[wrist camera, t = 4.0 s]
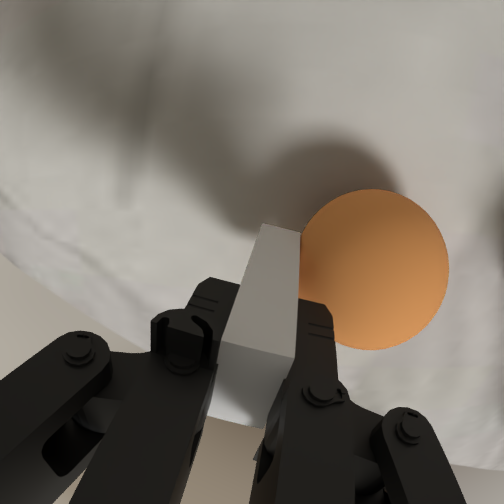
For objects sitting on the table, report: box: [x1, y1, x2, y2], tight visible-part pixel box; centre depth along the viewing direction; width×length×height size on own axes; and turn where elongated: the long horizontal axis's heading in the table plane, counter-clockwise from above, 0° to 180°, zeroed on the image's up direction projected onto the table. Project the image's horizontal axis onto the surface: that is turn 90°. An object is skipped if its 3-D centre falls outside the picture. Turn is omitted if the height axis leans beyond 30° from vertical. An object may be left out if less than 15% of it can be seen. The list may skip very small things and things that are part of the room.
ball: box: [298, 189, 449, 350], centre depth 11 cm, size 6×6×6 cm
